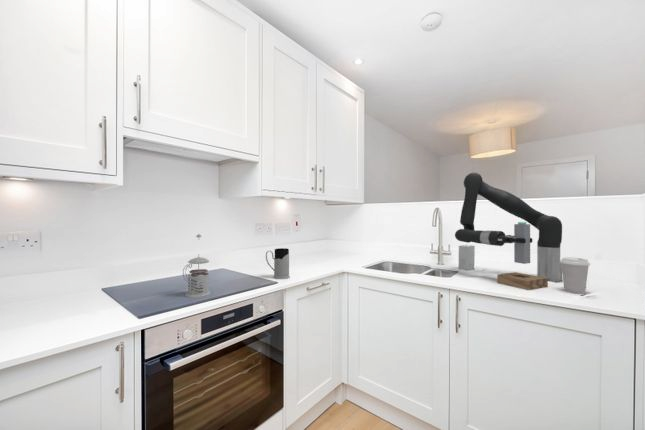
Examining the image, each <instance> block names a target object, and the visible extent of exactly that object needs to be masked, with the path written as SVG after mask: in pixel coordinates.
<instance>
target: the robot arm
mask: <svg viewBox="0 0 645 430" xmlns="http://www.w3.org/2000/svg"><path fill="white" fill-rule="evenodd" d="M463 187H464V189H465V193H464V199H463V204H462V207H461V212H460V213H461V214H460V220H459V223H460V225H461V226H463V228H460V229H459V228H458V229H457V230H456V231H455V232H454V233H455V234H454V237H455V239H456V240H457V241H459V242H463V243H468V244H469V243H475V244H480V245H481V244H483V245H487V246H499V247H503V246H504V245H505V244H514V243H526V239H525V238H515V237H514V235H512V234H506V233H505V232H504V231H501V230H475V217H476V208H477V202H478V201H477V199H478V196H481V197H483V198H484V199H486V200H487V201H488V202H490V203H491V204H493V205H495V206H496V207H498V208H499V209H501V210H503V211H505V212H507V213H509V214H510V215H513V216H515V217H516V218H520V219H522V220H523V221H524V222H526V223H527V224H530V226H533V227H534V228H535V229H537V230H538V240H537V243H536V244H537V245H536V246H537V247H536V253H537V255H536V257H537V258H536V259H537V260H536V261H537V262H536V265H537V266H536V267H537V268H536V272H537V273H536V276H539V277H545V278H548V282H550V283H559V282H560V281H562V282H563V273H562V264H561V263H560V261H561V244H562V240H563V239H562V238H563V223H562V221H561V220H560V219H559V218H558V217H557V216H555V215H554V216H553V215H547V214H545V213H542V212H541V211H540V210H539V211H538V210H536V209H534V208H533V207H532V206H530V205H529V204H528V203H526V202H525V201H524V200H523V199H521V198H520V197H518V196H517V195H515V194H513V193H510V192H508V191H506V190H503V189H501V188H497V187H494V186H492V185H490V184H488V183H486V182H485V181H484V180H483V177H482V175H481V174H480V173H478V172H470V173H469V174H467V175H465V177H464V180H463ZM531 243H533V238H532V237H530V244H531Z"/></svg>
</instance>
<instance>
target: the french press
mask: <svg viewBox="0 0 645 430" xmlns="http://www.w3.org/2000/svg"><path fill="white" fill-rule="evenodd" d="M196 238H198V239H200V238H202V235H201V234H197V235H196ZM209 262H210V260H209V259H207V258H205V257H200V255H198V257H194V258H192V259H190V260H188V261H187V263H189V264H186V265H185V266H184V268H183V269H182V276H183V279H184V280H185V281H186V282H187V287H188V288H187V289H188V290H187V293H186V294H185V297H187V298H201V297H206V295H207V296H209V295H210V293H212V292H211V291H210V290H209V272H208V269H205V268H203V269H202V268H200V265H201V264H207V263H209ZM194 264H195V265H198V268H196V269H192V267H193V265H194ZM188 268H190V269H192V270H189V271H188V272H189V274H188V275H187V274H185V275H184V273H185V272H184V271H185V270H187V269H188ZM185 277H186V278H187V279H188V280H187V279H186V278H185Z"/></svg>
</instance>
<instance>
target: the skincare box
mask: <svg viewBox="0 0 645 430" xmlns="http://www.w3.org/2000/svg"><path fill="white" fill-rule="evenodd" d="M475 247H476V246H475V245H472V244H463V245H462V244H461V245H458V270H462V271H463V270H464V271H471V270H475V260H476V259H475V253H476V252H475V251H476V249H475Z"/></svg>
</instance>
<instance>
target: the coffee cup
mask: <svg viewBox="0 0 645 430" xmlns="http://www.w3.org/2000/svg"><path fill="white" fill-rule="evenodd" d="M560 263H561V264H562V283H563V290H564V291H565V292H569V293H573V294H581V295H579V297H582V296H583V297H584V296H585V294H586V290H587V283H588V281H587V280H588V274H589V266H591V263H590V262H589V261H588V259H586V258H582V257H568V256H567V257H566V256H565V257H562V258H561V259H560Z"/></svg>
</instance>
